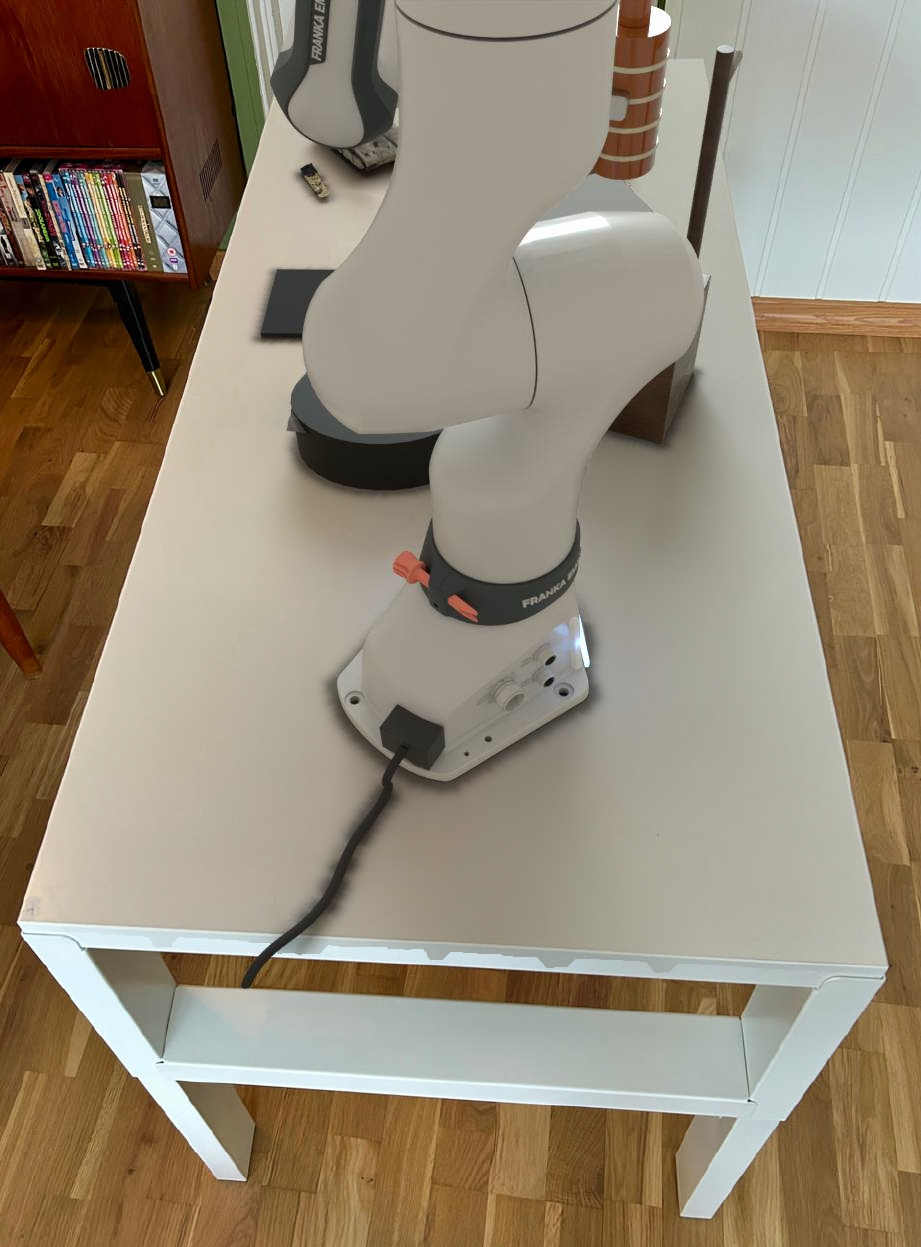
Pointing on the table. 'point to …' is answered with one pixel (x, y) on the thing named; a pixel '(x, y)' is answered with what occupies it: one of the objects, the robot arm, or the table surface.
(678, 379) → the hanger rack
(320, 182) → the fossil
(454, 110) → the robot arm
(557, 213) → the grey rectangular block
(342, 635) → the table surface
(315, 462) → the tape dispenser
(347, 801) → the table surface
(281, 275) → the rubber mat
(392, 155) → the toy tank
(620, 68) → the brown banded bottle
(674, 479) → the table surface
